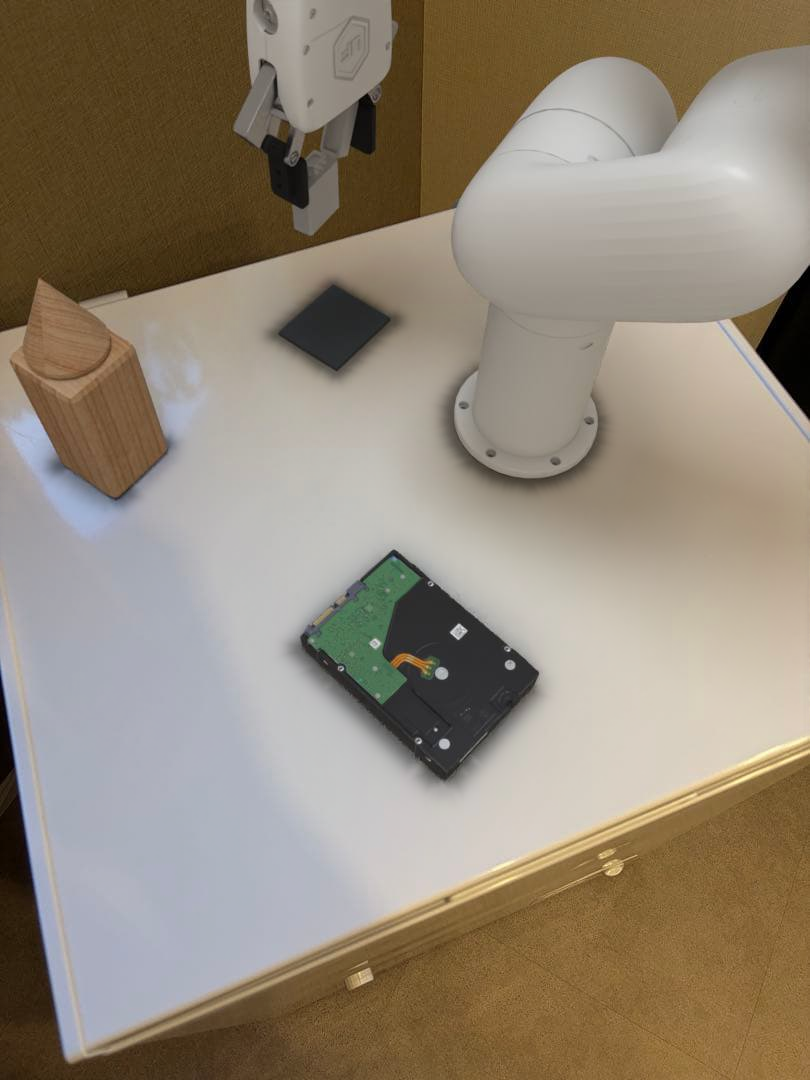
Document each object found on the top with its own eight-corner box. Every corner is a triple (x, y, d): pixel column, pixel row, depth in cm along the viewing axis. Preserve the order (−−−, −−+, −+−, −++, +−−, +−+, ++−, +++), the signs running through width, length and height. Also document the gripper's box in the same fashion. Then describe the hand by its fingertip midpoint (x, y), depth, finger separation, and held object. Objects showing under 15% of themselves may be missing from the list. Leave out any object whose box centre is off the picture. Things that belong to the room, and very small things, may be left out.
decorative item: (115, 413, 77) (42, 229, 60) (172, 450, 76) (114, 271, 58) (58, 463, 75) (-35, 285, 57) (116, 503, 73) (37, 332, 56)
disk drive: (536, 684, 66) (391, 562, 71) (543, 670, 64) (393, 545, 69) (445, 785, 62) (297, 649, 67) (448, 774, 60) (295, 634, 64)
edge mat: (333, 286, 86) (333, 283, 86) (390, 320, 84) (390, 317, 84) (278, 334, 83) (278, 331, 82) (336, 371, 81) (336, 368, 80)
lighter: (311, 236, 69) (305, 144, 62) (292, 228, 69) (284, 136, 62) (360, 185, 72) (359, 92, 65) (341, 177, 72) (339, 84, 65)
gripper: (263, 1, 48) (287, 257, 63) (449, -119, 55) (431, 136, 70) (161, -49, 50) (209, 211, 65) (354, -158, 57) (356, 98, 72)
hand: (324, 170), depth 68 cm, fingers closed on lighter, 7 cm apart
